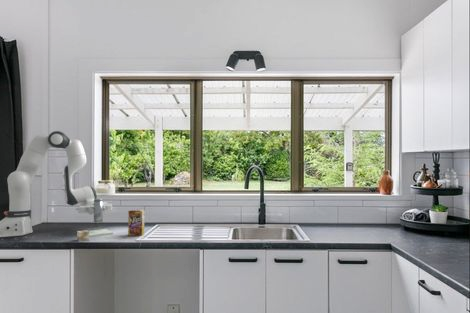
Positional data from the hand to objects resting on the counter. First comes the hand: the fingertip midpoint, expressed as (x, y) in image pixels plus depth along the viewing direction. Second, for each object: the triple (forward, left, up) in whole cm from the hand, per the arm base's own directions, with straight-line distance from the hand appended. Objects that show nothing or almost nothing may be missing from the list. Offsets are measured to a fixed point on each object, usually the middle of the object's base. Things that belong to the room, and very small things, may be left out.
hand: (98, 209), depth 205 cm
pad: (0, +1, -15) cm, 15 cm away
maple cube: (-12, -12, -15) cm, 23 cm away
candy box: (+17, -18, -15) cm, 29 cm away
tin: (0, +1, -7) cm, 8 cm away
